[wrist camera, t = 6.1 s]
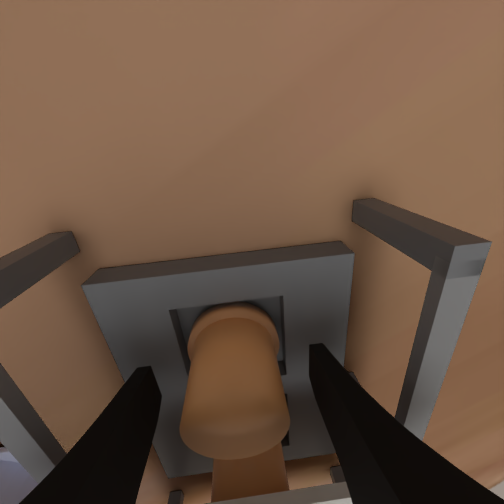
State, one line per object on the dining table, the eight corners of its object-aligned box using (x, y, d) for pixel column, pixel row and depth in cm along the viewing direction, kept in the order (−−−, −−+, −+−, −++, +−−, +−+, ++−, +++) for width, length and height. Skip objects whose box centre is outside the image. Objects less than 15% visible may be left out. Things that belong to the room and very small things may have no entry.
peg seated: (216, 436, 17) (212, 542, 12) (205, 393, 15) (195, 500, 11) (280, 427, 17) (299, 528, 13) (277, 383, 15) (298, 484, 11)
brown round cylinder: (200, 366, 14) (185, 471, 10) (183, 302, 12) (155, 396, 8) (277, 355, 14) (299, 453, 10) (272, 290, 12) (296, 375, 8)
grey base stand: (172, 497, 21) (153, 611, 16) (48, 233, 11) (-115, 313, 6) (340, 471, 21) (375, 573, 16) (374, 198, 11) (492, 242, 6)
